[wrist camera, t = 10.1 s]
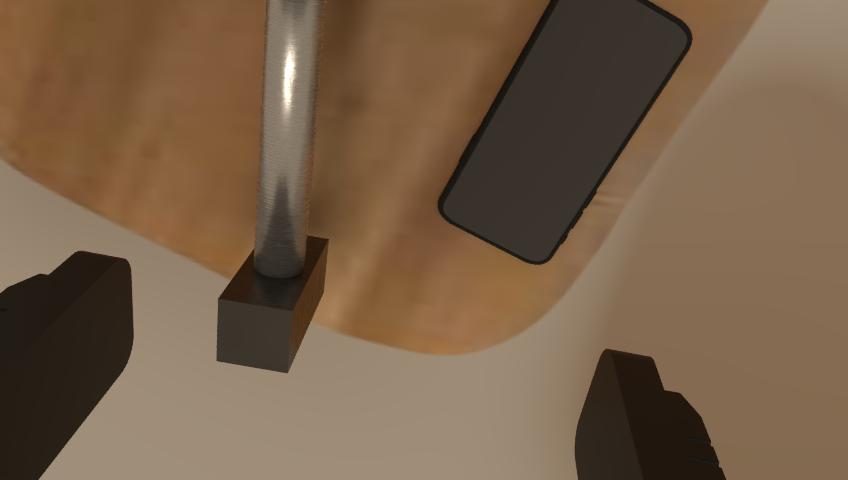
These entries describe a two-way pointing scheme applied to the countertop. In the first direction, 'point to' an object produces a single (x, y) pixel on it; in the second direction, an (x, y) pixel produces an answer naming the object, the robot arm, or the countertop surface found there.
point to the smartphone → (562, 122)
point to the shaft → (280, 201)
